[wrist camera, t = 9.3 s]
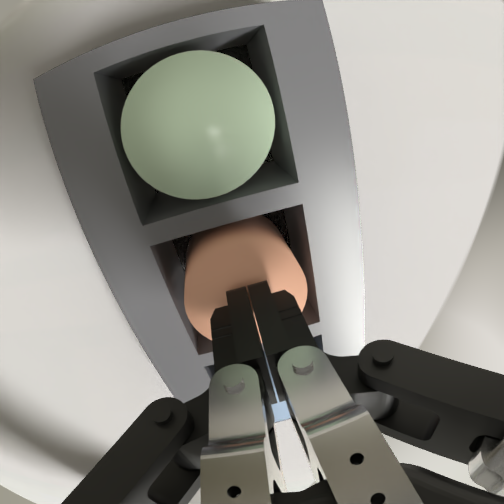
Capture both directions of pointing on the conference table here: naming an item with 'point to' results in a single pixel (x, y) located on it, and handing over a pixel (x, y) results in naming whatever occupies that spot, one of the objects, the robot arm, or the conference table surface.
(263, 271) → the orange button
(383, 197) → the conference table surface
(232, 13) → the tray
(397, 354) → the robot arm
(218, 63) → the sage button
